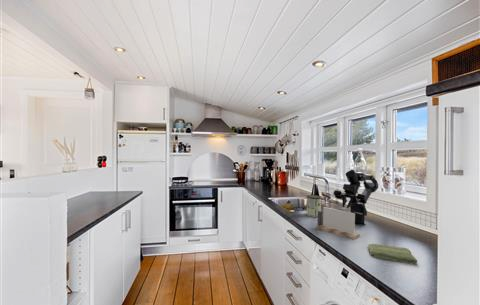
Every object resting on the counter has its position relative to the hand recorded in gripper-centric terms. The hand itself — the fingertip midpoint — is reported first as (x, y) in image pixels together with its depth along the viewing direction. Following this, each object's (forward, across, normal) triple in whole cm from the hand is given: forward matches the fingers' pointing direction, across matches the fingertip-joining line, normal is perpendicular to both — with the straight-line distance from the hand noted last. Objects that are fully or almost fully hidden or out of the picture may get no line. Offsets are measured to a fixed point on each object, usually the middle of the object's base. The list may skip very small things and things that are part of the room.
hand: (345, 207), depth 136 cm
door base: (+16, -1, +4) cm, 16 cm away
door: (+14, -1, +3) cm, 15 cm away
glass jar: (0, -29, +19) cm, 35 cm away
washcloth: (+23, +29, -2) cm, 37 cm away
